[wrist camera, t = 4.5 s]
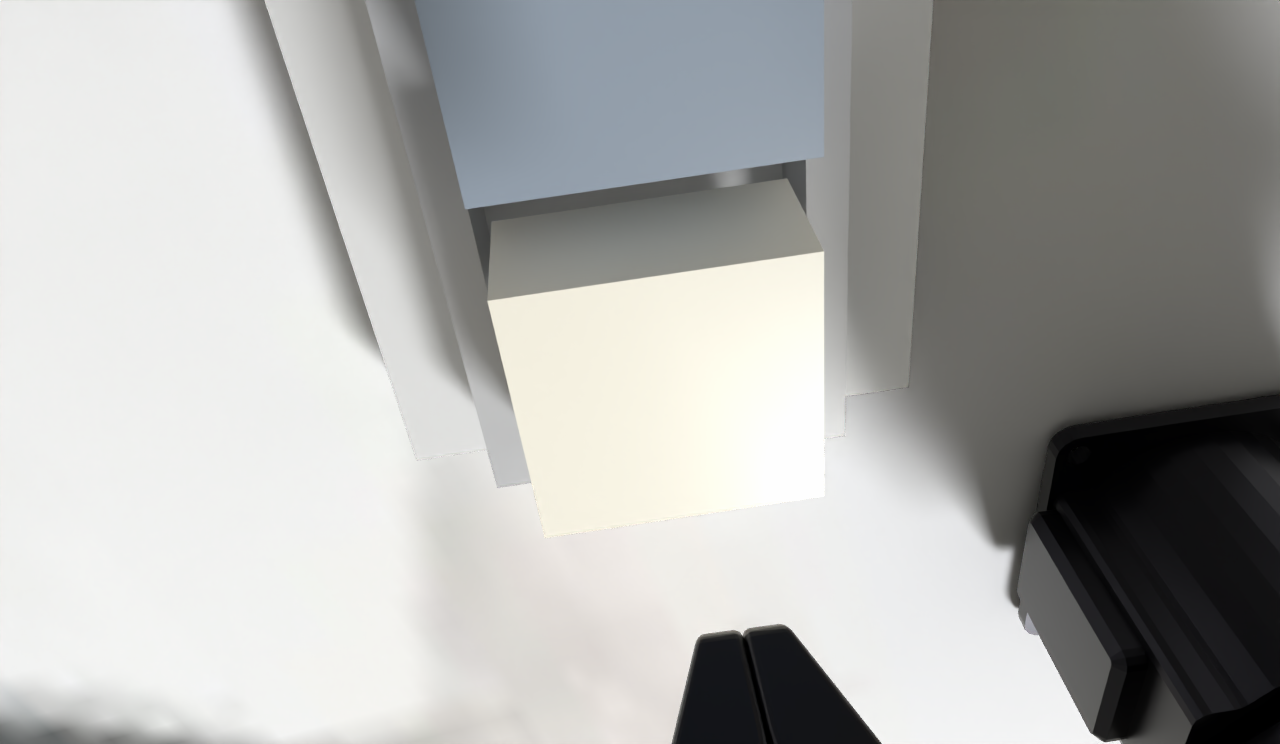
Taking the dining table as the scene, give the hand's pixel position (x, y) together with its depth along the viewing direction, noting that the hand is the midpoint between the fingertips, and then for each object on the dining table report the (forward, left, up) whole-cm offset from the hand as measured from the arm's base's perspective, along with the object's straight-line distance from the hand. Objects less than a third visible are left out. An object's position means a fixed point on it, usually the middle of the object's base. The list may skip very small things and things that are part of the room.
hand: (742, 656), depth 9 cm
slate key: (0, -5, -6) cm, 8 cm away
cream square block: (0, 0, -6) cm, 6 cm away
